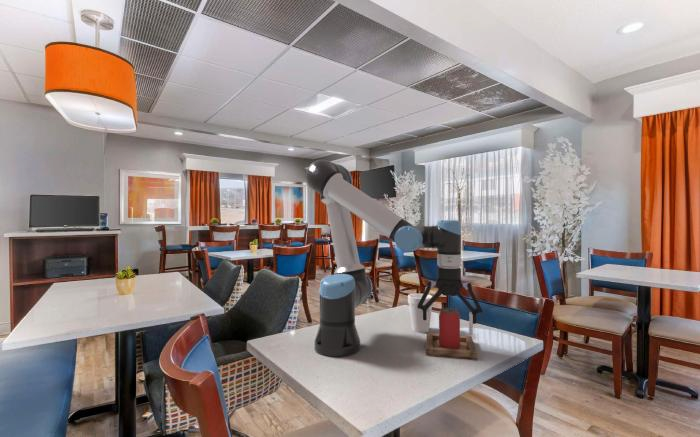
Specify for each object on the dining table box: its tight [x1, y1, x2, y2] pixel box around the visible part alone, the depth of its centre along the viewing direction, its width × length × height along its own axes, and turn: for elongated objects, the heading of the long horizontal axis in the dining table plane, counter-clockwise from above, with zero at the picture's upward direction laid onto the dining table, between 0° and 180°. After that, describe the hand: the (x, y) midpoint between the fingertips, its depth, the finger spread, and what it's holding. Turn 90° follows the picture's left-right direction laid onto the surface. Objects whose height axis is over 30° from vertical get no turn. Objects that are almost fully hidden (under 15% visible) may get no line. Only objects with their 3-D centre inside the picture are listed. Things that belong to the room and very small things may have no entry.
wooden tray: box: [425, 332, 478, 361], centre depth 107 cm, size 15×17×2 cm
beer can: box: [438, 307, 461, 349], centre depth 107 cm, size 7×7×12 cm
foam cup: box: [407, 293, 433, 333], centre depth 126 cm, size 10×9×13 cm
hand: (449, 331), depth 107 cm, fingers open, 13 cm apart
